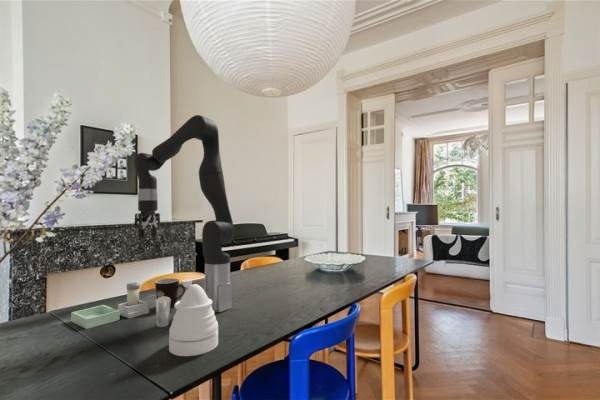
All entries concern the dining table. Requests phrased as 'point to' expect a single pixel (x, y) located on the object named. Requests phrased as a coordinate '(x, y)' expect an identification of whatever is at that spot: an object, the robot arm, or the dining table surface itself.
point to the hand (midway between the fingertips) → (148, 237)
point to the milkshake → (162, 311)
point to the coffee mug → (168, 289)
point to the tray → (95, 316)
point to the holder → (133, 309)
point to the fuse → (133, 294)
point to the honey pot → (193, 323)
